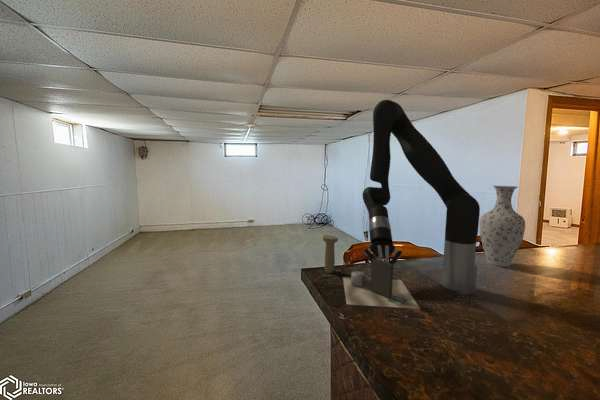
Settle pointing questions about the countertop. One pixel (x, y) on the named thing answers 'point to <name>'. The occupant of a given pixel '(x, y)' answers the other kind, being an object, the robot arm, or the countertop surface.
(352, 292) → the board
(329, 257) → the beige pillar
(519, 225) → the vase
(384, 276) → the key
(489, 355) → the countertop surface
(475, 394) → the countertop surface
